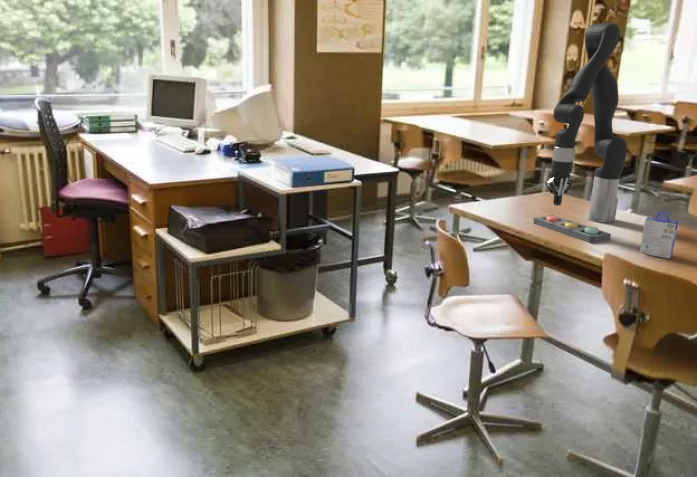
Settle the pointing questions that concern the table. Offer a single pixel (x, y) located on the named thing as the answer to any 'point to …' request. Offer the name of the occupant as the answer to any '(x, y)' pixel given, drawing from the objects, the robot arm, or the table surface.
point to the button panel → (572, 230)
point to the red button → (552, 218)
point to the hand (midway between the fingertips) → (556, 204)
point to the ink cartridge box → (659, 236)
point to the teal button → (591, 230)
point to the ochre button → (571, 225)
